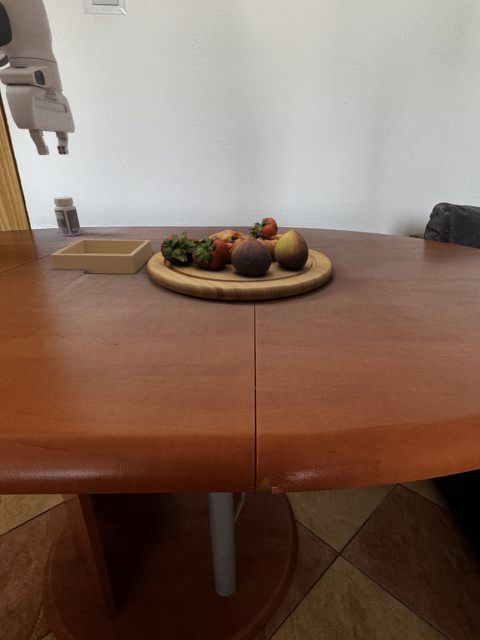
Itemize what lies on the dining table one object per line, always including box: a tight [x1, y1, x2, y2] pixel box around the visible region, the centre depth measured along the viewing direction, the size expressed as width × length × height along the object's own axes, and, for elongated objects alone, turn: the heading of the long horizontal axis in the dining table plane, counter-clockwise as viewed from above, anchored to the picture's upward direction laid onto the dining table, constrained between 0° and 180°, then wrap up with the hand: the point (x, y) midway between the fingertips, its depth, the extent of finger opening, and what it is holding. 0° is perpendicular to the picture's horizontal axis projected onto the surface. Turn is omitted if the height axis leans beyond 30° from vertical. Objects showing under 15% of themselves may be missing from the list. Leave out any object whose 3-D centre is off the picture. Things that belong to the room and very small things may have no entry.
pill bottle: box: [53, 196, 82, 237], centre depth 91 cm, size 5×5×8 cm
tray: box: [50, 238, 154, 275], centre depth 69 cm, size 14×13×3 cm
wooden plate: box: [146, 217, 334, 301], centre depth 65 cm, size 32×32×8 cm
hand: (54, 154), depth 85 cm, fingers open, 8 cm apart
